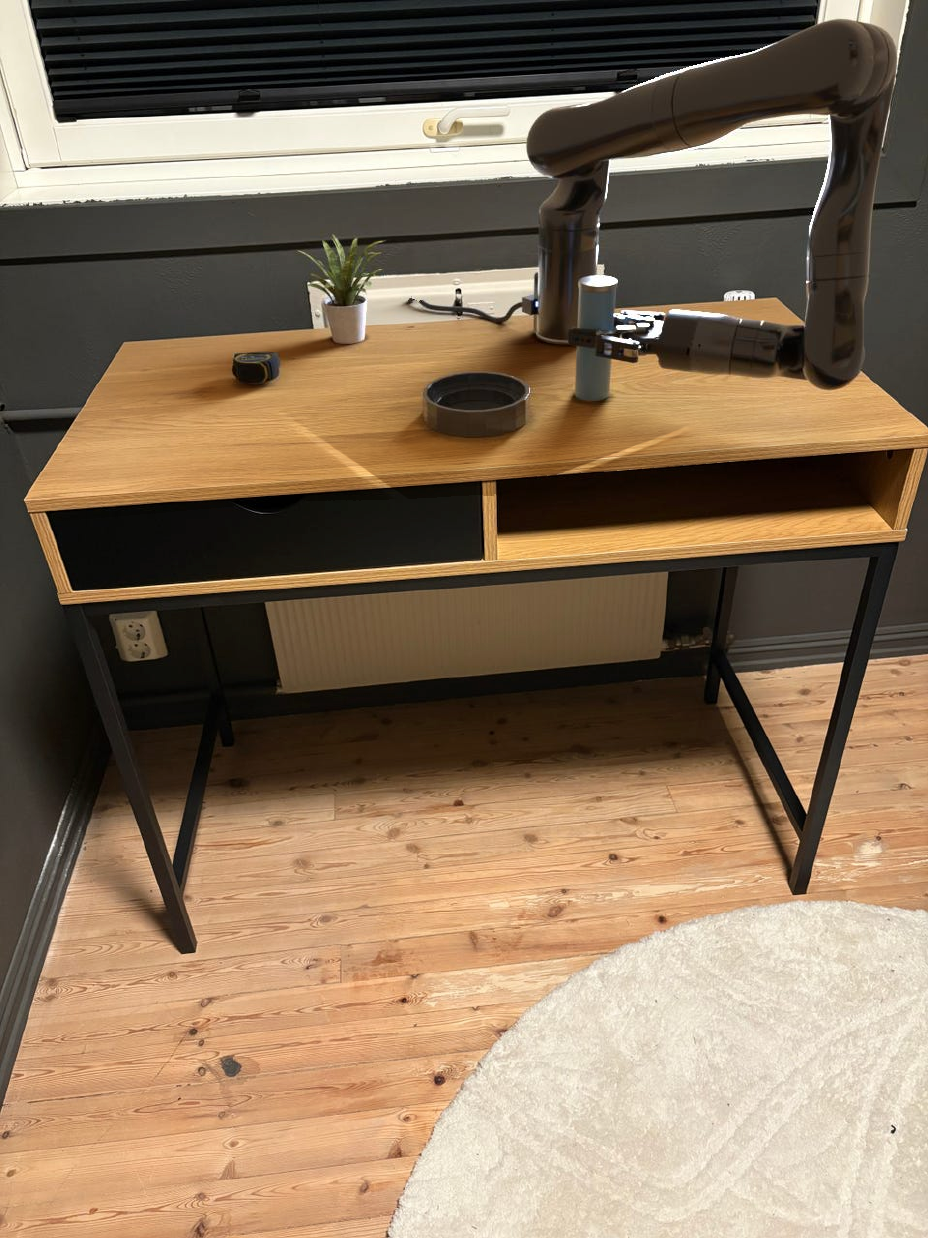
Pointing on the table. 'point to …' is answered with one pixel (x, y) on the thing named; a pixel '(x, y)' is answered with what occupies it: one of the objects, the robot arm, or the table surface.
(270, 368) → the tape measure
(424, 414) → the bowl
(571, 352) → the table surface
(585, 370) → the canister
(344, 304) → the house plant
